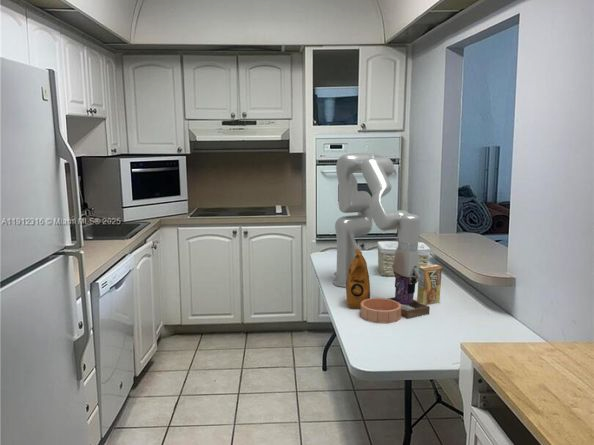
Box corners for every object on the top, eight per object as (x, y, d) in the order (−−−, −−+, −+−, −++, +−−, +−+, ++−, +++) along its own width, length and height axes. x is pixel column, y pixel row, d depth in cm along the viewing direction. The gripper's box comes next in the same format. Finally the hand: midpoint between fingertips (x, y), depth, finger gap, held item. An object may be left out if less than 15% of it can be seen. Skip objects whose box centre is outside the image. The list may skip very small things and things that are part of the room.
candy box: (433, 299, 209) (435, 264, 206) (440, 302, 205) (442, 266, 202) (416, 302, 205) (418, 266, 202) (423, 305, 201) (425, 268, 198)
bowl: (352, 312, 193) (353, 301, 192) (384, 306, 199) (384, 295, 199) (376, 325, 180) (376, 313, 179) (408, 319, 186) (409, 307, 186)
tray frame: (382, 306, 200) (382, 299, 199) (404, 302, 205) (404, 295, 204) (406, 318, 187) (407, 311, 186) (429, 314, 192) (429, 306, 191)
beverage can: (392, 299, 199) (394, 270, 197) (409, 299, 200) (411, 270, 197) (397, 306, 192) (399, 276, 190) (415, 305, 193) (417, 276, 190)
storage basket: (422, 269, 256) (423, 241, 253) (429, 278, 240) (431, 248, 237) (375, 268, 256) (376, 240, 254) (380, 277, 240) (381, 247, 238)
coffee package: (343, 308, 197) (345, 254, 193) (346, 298, 209) (347, 247, 205) (369, 310, 195) (371, 256, 191) (370, 300, 207) (372, 248, 203)
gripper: (386, 241, 197) (383, 284, 201) (415, 252, 182) (411, 298, 186) (401, 240, 201) (398, 282, 204) (430, 250, 186) (427, 296, 189)
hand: (404, 289), depth 195 cm, fingers closed on beverage can, 6 cm apart
